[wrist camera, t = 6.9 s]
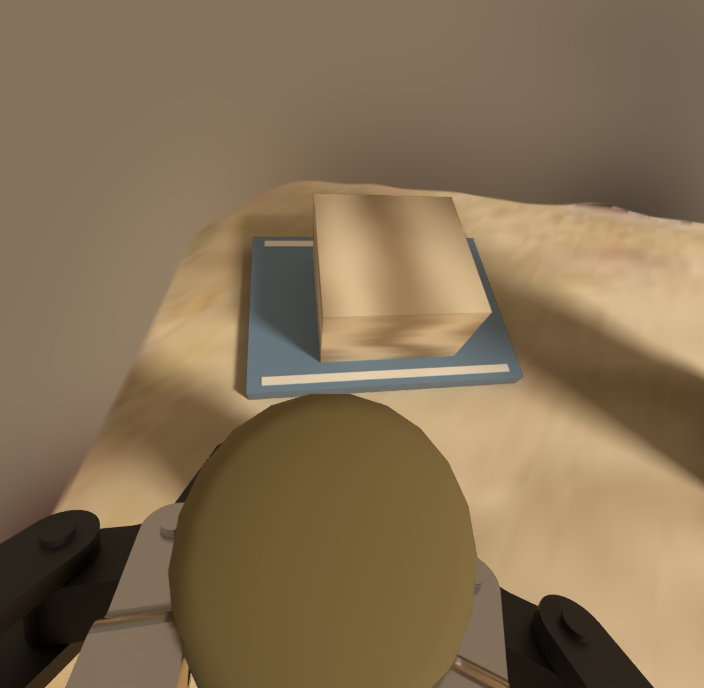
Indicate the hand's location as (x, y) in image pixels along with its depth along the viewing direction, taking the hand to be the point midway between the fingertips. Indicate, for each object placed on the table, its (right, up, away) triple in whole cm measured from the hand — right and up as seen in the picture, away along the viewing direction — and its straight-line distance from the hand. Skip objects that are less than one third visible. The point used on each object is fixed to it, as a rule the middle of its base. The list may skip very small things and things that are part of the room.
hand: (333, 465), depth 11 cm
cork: (-1, -4, +3) cm, 5 cm away
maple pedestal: (+3, +7, +15) cm, 17 cm away
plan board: (+3, +7, +17) cm, 18 cm away
